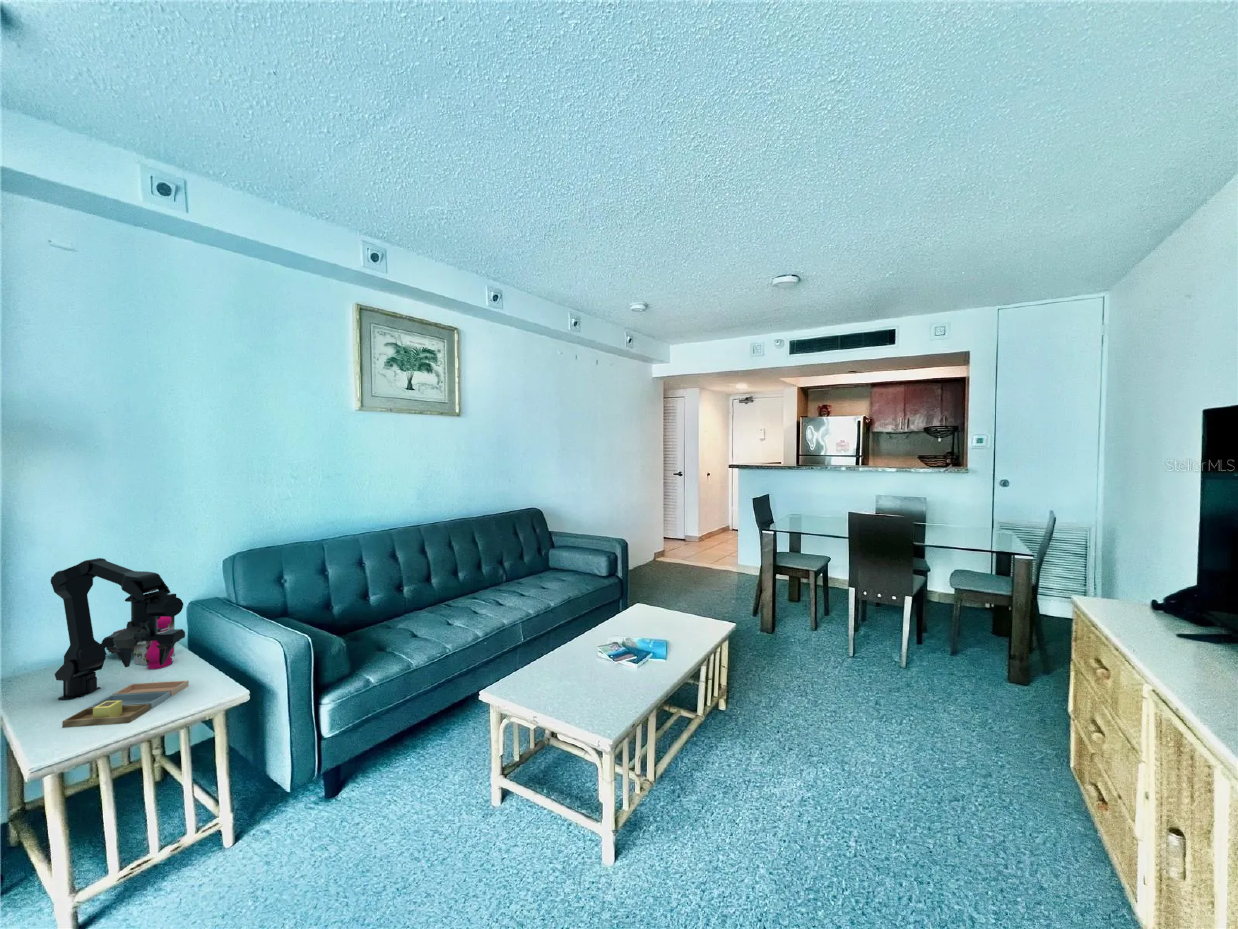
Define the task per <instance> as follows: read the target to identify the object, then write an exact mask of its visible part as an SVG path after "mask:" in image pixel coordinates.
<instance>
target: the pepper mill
mask: <svg viewBox="0 0 1238 929" xmlns="http://www.w3.org/2000/svg"><path fill="white" fill-rule="evenodd" d="M171 621H172V619H171V617H161V618H160V619H158V620H157V628H161V631H160V632H158V633H157V634H162V633H164V632H166V631H168V630H170V629H169V628H170V627H169V626H168V625H169V624H170V623H171ZM157 645H159V643H157V640H155V641H152V643H151V645H150V647H149V649H148V650H147V653H146V659H147V660H149V661H150V662H149V663H148V665H147V669H149V670H157V669H162V668H167V667H168V666H170V665H172V664H173V658H172V657H173V656H172V654H173V653H174V654H175V647H174V648H172V649H171V651H170V653H169V655H168V657H167V659H166V661H165V663H164V664H163V665H160V663H159V649H158V648H157V647H156V646H157ZM171 656H172V657H171Z"/></svg>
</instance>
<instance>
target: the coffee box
mask: <svg viewBox="0 0 1238 929" xmlns="http://www.w3.org/2000/svg"><path fill="white" fill-rule="evenodd" d="M175 617H176V616H174V617H171V619H172V621H171V623H170V624H169V625H168V626H169V627H170V628H169V629H170V630H174V629H175V621H176V620H175ZM149 638H151V637H149ZM151 643H152V641H143V642H138V643H137V645H136V646H134V652H133V664H134V665H141V666H148V663H149V662H150V661H149V660H147V659H146V653H147V650H148V649H149V647H150V645H151ZM173 648H174V649H175V645H174V646H173ZM172 657H175V652H174V653H173V654H172V656H171V658H172Z"/></svg>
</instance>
